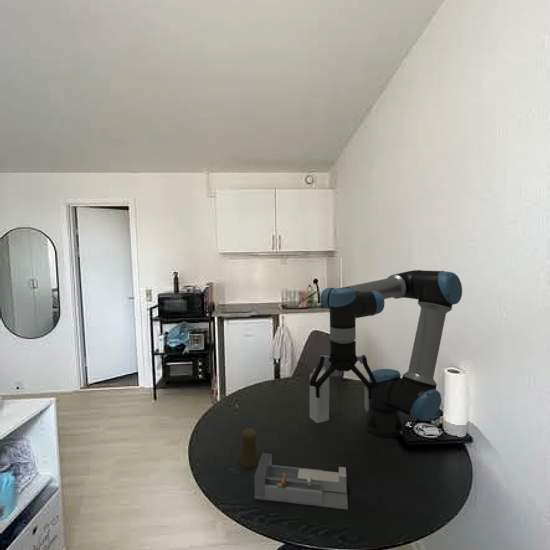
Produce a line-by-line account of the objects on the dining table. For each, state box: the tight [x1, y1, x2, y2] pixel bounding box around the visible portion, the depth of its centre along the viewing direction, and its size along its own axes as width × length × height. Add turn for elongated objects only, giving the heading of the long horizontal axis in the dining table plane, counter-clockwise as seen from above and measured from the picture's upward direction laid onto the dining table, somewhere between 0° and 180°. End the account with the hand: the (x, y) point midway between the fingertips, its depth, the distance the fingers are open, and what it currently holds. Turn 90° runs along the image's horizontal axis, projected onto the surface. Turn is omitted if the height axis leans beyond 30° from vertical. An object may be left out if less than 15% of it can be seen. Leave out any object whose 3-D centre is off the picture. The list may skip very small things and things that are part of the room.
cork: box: [239, 428, 259, 469], centre depth 114 cm, size 6×6×11 cm
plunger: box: [297, 466, 347, 493], centre depth 100 cm, size 14×7×5 cm, turn 80°
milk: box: [309, 366, 330, 424], centre depth 144 cm, size 6×6×22 cm
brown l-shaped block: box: [277, 473, 286, 486], centre depth 97 cm, size 2×4×5 cm, turn 171°
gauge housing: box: [254, 452, 349, 510], centre depth 101 cm, size 26×11×7 cm, turn 80°
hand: (343, 408), depth 105 cm, fingers open, 13 cm apart
